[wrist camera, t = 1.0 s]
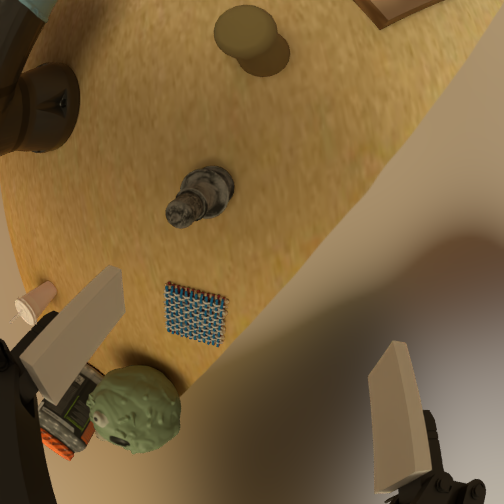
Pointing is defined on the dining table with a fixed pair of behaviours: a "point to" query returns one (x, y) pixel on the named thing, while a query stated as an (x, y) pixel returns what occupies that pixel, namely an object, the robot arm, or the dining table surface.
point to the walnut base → (392, 9)
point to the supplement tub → (70, 416)
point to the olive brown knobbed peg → (252, 40)
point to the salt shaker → (201, 196)
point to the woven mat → (195, 314)
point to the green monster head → (135, 408)
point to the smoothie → (34, 302)
